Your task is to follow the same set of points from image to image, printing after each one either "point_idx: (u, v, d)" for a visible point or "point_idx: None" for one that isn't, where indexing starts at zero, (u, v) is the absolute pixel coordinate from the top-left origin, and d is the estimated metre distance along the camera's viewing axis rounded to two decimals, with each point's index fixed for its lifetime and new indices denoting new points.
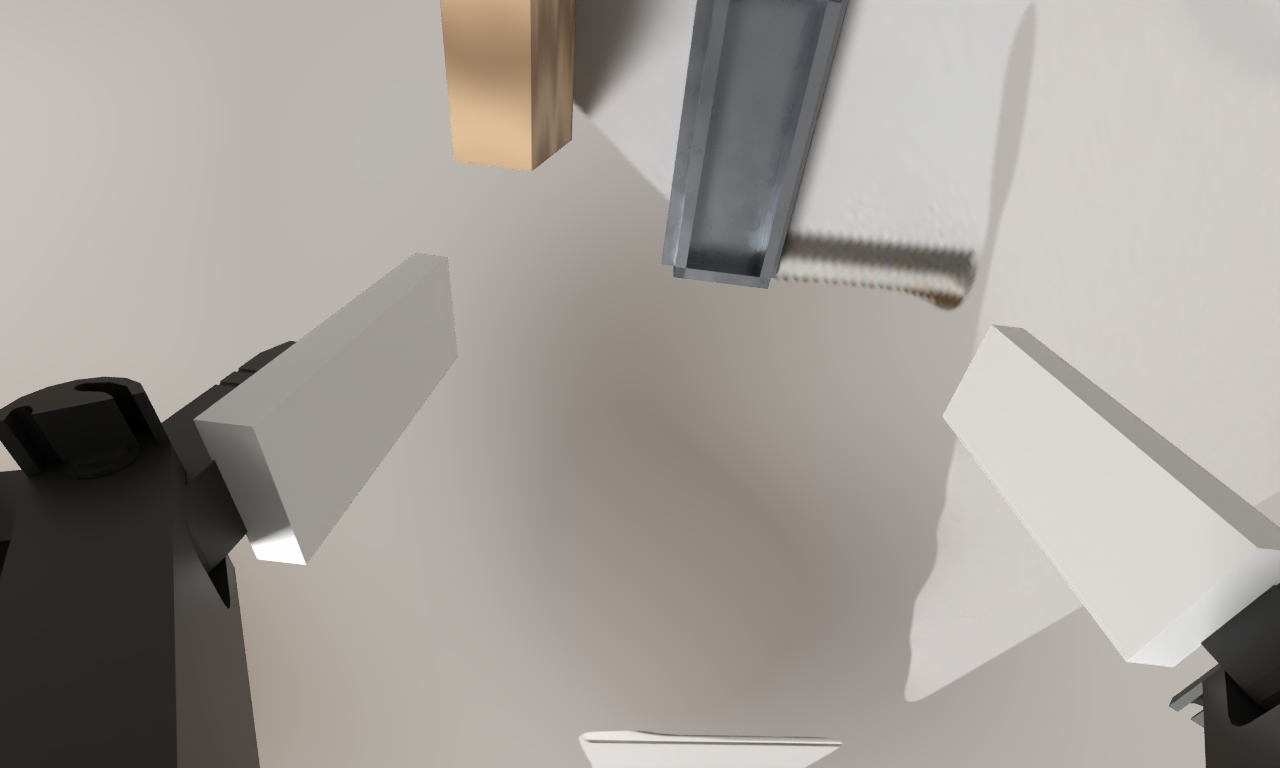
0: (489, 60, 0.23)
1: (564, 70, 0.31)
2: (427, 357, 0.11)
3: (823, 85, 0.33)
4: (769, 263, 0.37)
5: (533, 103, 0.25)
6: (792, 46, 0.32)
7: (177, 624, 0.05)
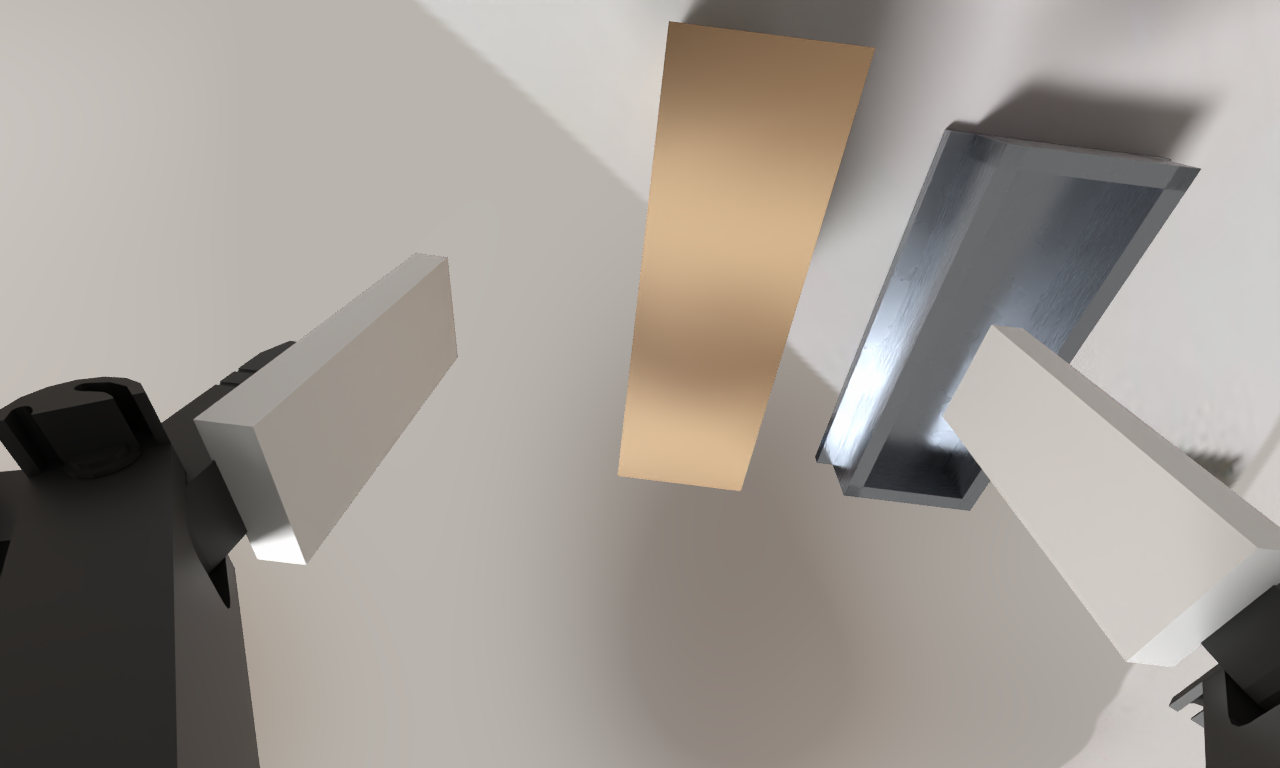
0: (707, 362, 0.14)
1: None
2: (427, 357, 0.11)
3: None
4: (980, 485, 0.27)
5: None
6: (1064, 225, 0.22)
7: (177, 624, 0.05)
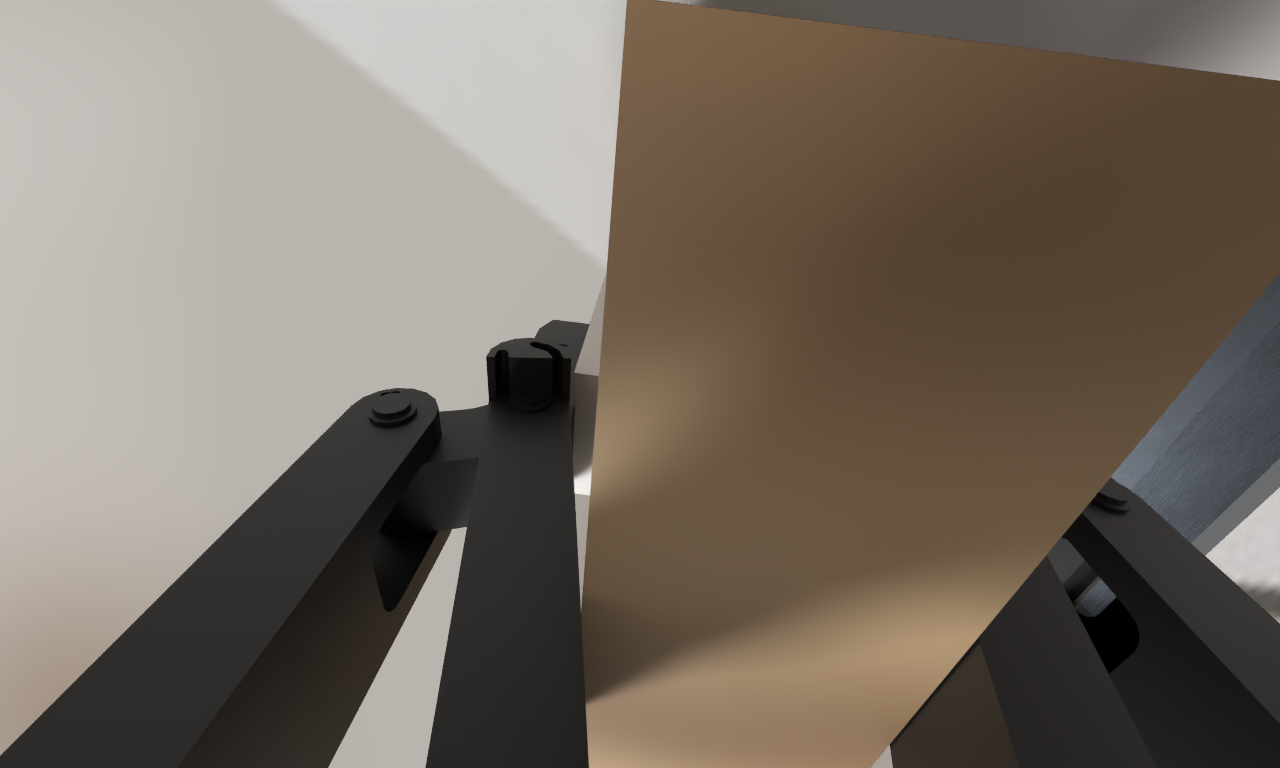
0: (735, 735, 0.07)
1: None
2: None
3: None
4: None
5: None
6: (1243, 323, 0.15)
7: None
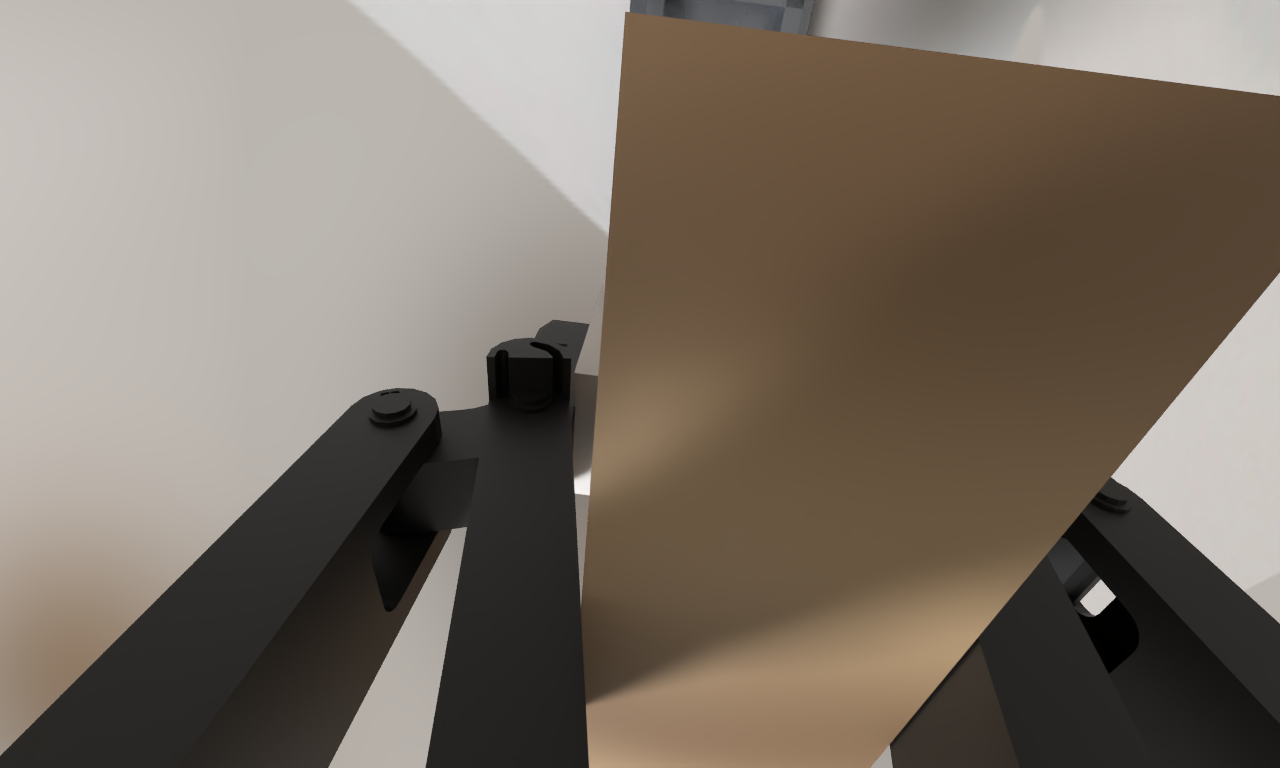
0: (733, 738, 0.07)
1: None
2: None
3: None
4: None
5: None
6: None
7: None
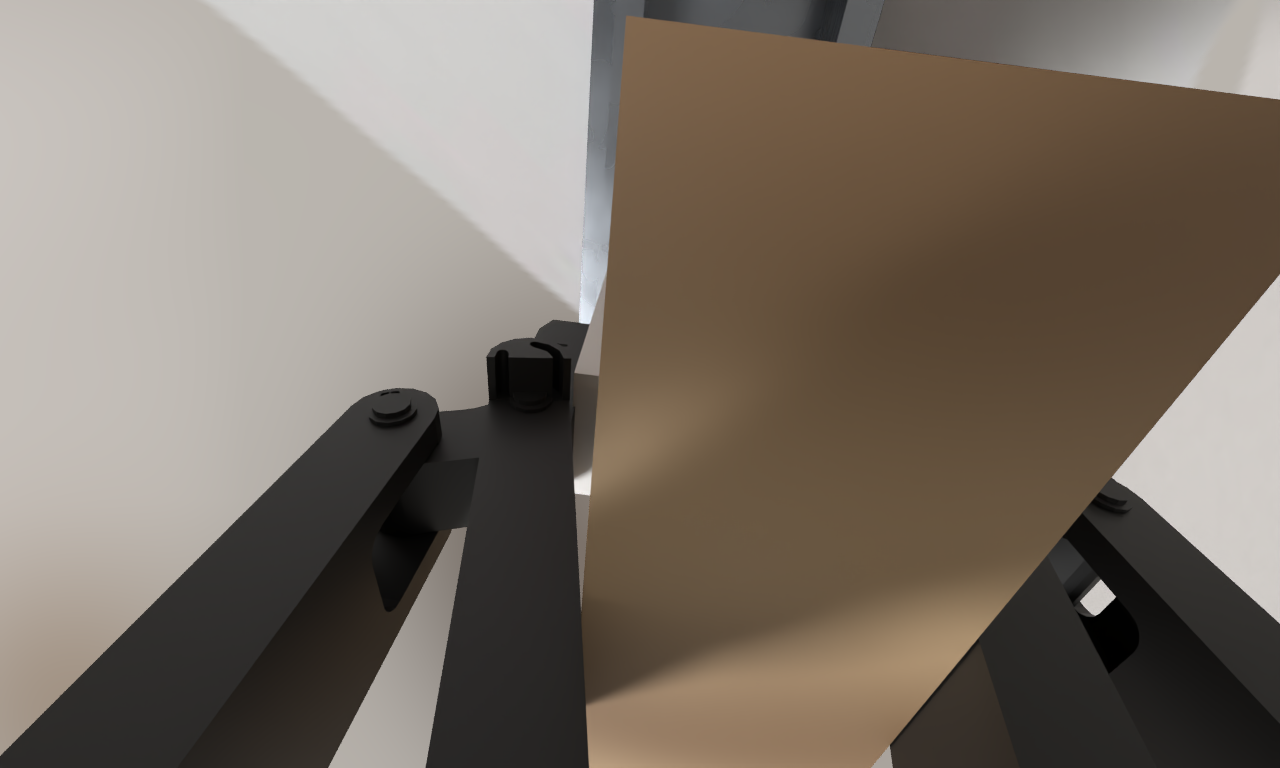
0: (734, 739, 0.07)
1: None
2: None
3: None
4: None
5: None
6: None
7: None
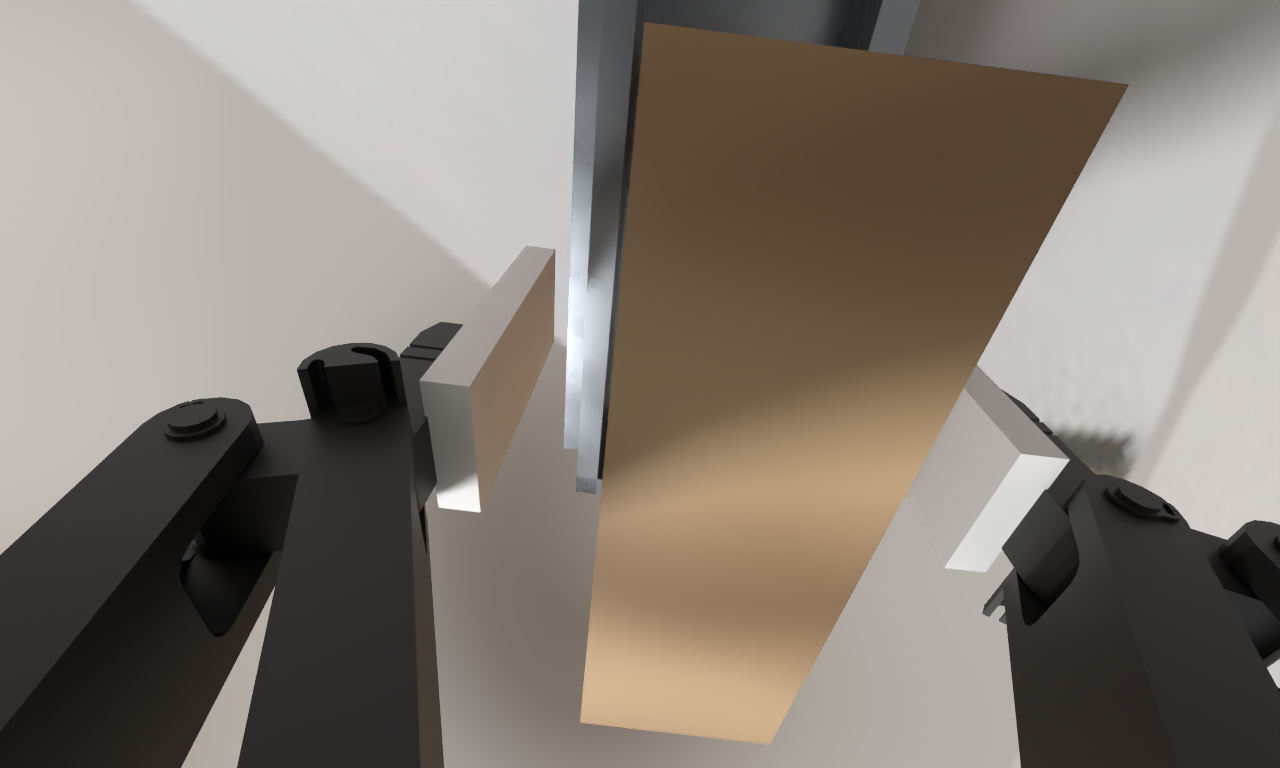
0: (721, 601, 0.08)
1: None
2: (540, 339, 0.13)
3: None
4: None
5: None
6: None
7: (412, 562, 0.05)
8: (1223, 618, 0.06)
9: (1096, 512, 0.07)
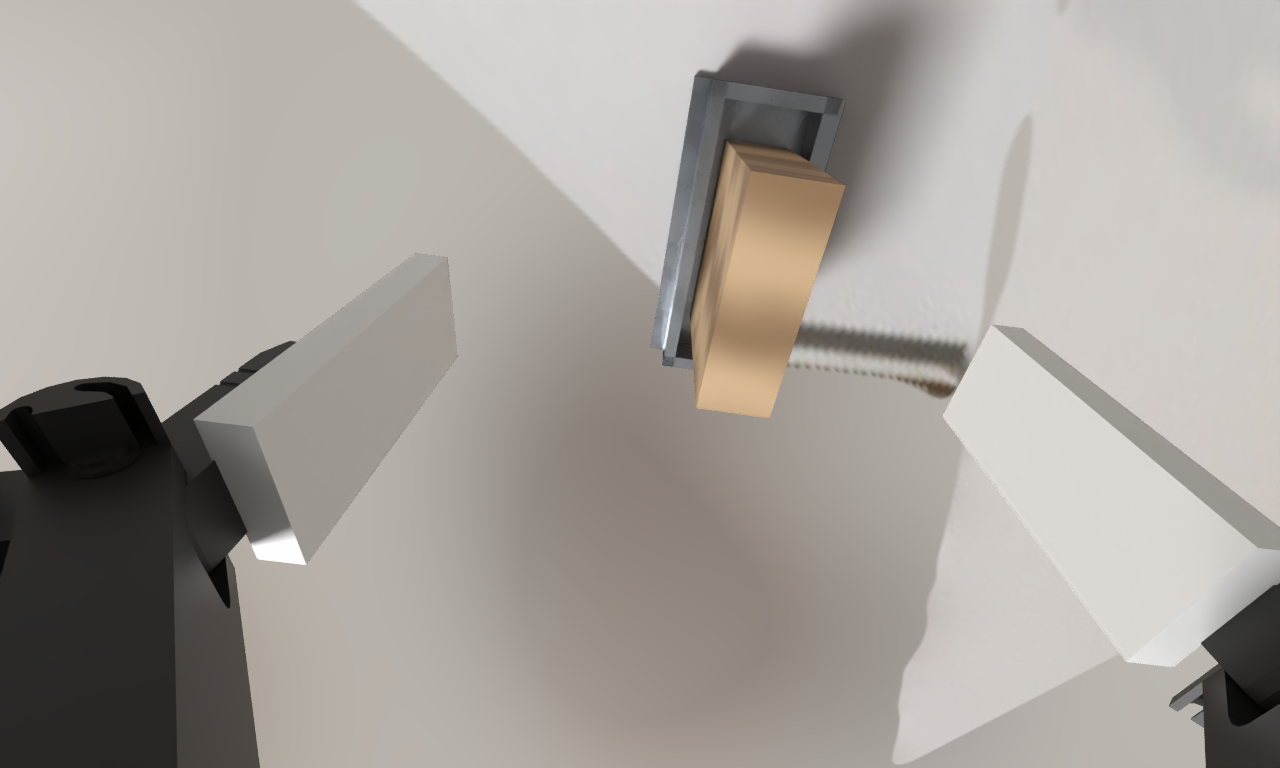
0: (755, 337, 0.25)
1: None
2: (427, 357, 0.11)
3: None
4: None
5: None
6: (787, 148, 0.31)
7: (177, 624, 0.05)
8: None
9: None
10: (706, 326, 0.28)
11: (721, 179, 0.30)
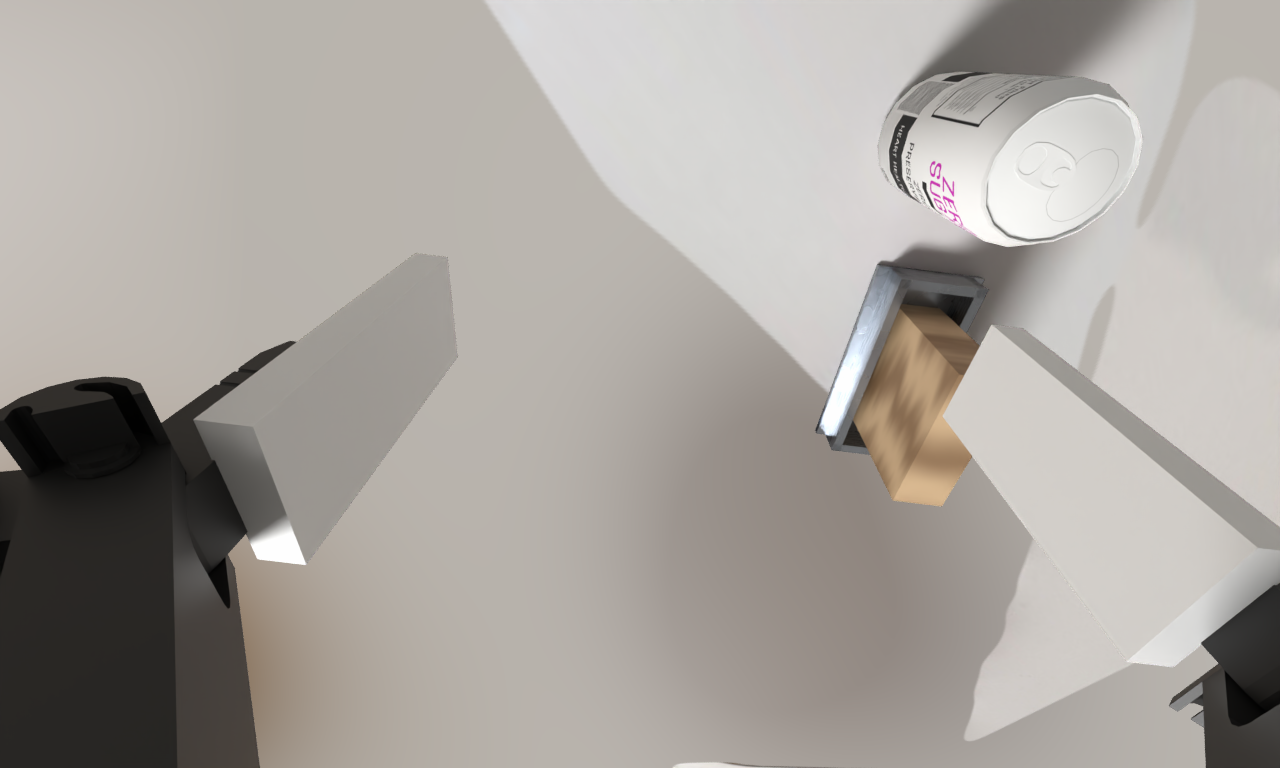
0: (942, 460, 0.38)
1: None
2: (427, 357, 0.11)
3: None
4: None
5: None
6: None
7: (177, 625, 0.05)
8: None
9: None
10: (896, 444, 0.41)
11: (895, 334, 0.44)
